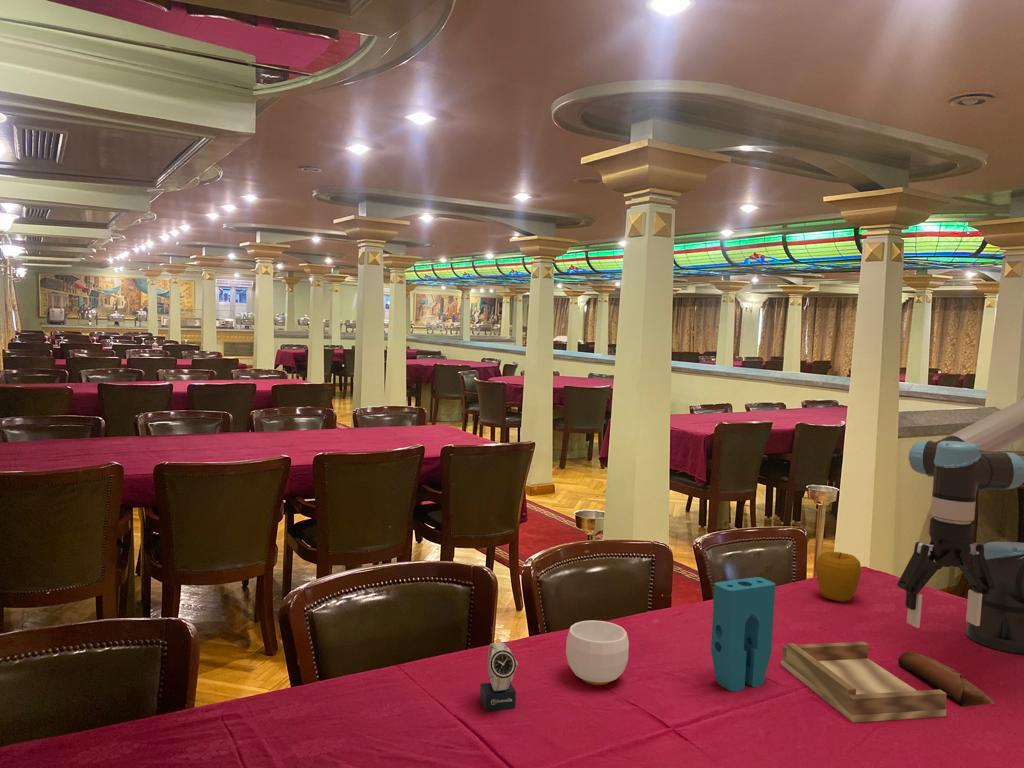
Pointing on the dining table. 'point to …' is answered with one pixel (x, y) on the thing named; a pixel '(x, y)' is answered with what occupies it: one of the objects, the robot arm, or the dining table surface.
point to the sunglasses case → (944, 679)
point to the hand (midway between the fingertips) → (943, 624)
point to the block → (742, 631)
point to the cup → (597, 651)
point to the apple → (838, 575)
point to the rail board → (859, 683)
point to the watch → (499, 679)
